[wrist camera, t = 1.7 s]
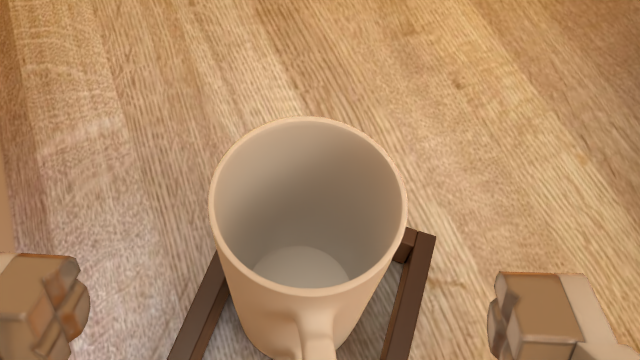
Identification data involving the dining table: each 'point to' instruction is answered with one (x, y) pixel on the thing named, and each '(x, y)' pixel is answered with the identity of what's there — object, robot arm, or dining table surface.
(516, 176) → the dining table surface
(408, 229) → the brown wooden frame
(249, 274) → the mug
